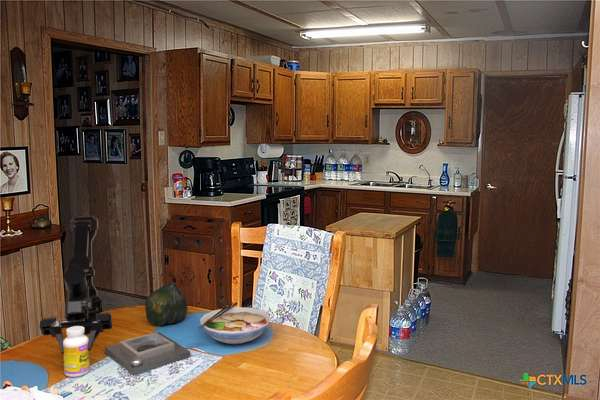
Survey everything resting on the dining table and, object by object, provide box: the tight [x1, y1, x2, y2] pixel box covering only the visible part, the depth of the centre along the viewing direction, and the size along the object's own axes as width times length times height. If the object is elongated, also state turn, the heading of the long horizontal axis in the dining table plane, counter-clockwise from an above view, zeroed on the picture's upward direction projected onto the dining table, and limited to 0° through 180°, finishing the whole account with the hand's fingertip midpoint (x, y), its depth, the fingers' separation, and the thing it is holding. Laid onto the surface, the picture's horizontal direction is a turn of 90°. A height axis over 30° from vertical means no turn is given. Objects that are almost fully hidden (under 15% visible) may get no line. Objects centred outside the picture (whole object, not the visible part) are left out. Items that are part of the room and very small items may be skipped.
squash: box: [144, 282, 189, 327], centre depth 188 cm, size 14×15×15 cm
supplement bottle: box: [63, 326, 91, 378], centre depth 148 cm, size 7×7×13 cm
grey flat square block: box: [104, 331, 191, 376], centre depth 161 cm, size 20×18×4 cm
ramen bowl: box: [197, 301, 272, 346], centre depth 172 cm, size 25×23×8 cm
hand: (75, 352), depth 147 cm, fingers closed on supplement bottle, 7 cm apart
